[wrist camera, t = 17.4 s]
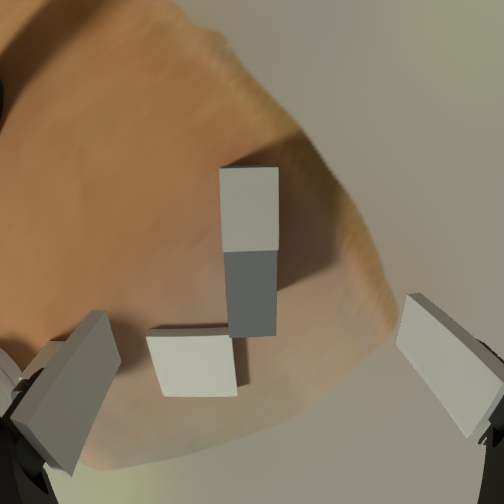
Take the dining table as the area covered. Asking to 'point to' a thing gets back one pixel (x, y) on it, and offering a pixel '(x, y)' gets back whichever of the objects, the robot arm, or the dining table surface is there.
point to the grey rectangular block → (250, 247)
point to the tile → (194, 361)
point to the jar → (37, 364)
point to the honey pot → (7, 380)
